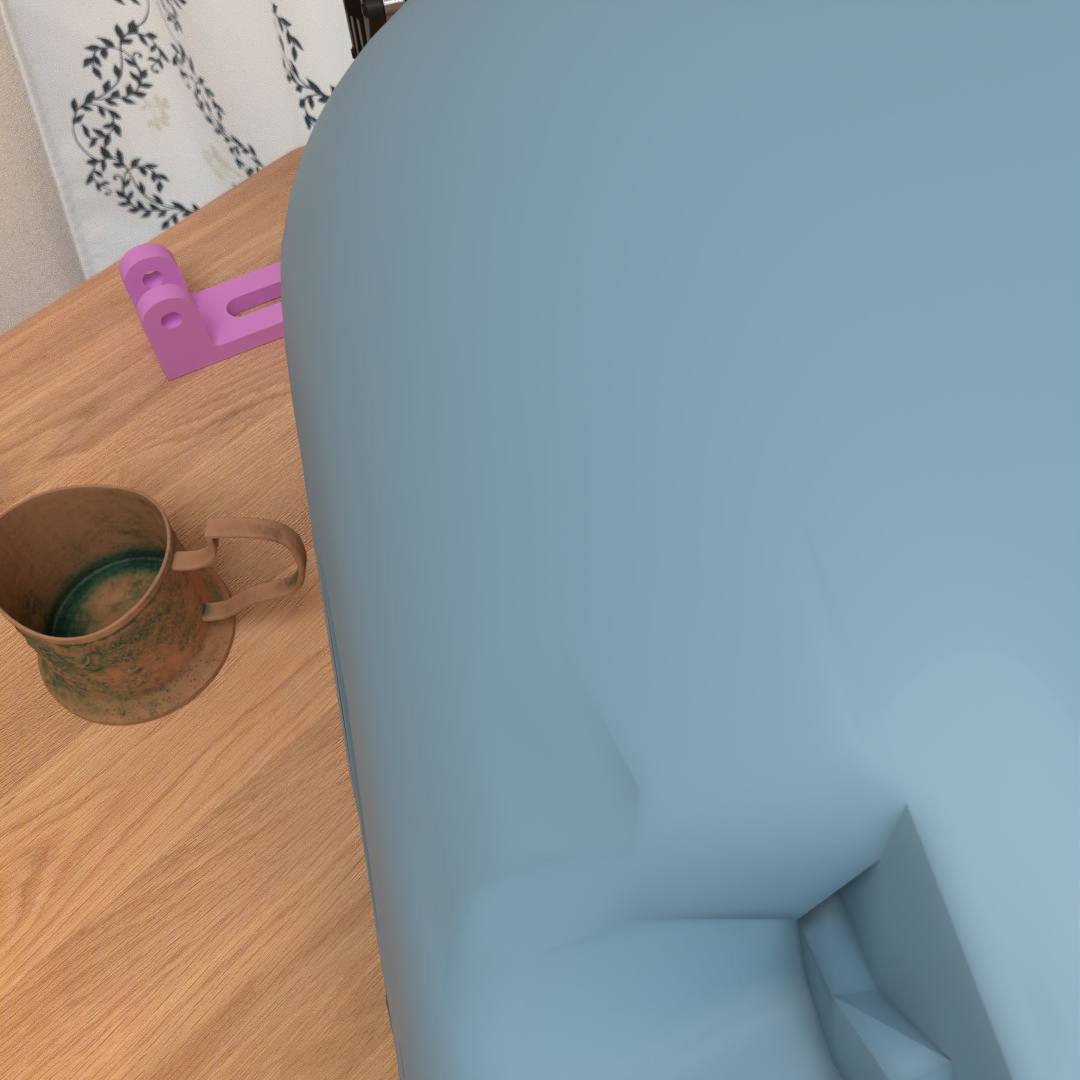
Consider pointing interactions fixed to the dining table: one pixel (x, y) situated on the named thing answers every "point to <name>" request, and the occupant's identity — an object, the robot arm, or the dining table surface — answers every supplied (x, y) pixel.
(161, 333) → the bracket
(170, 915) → the dining table surface
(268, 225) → the dining table surface
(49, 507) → the mug
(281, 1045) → the dining table surface
